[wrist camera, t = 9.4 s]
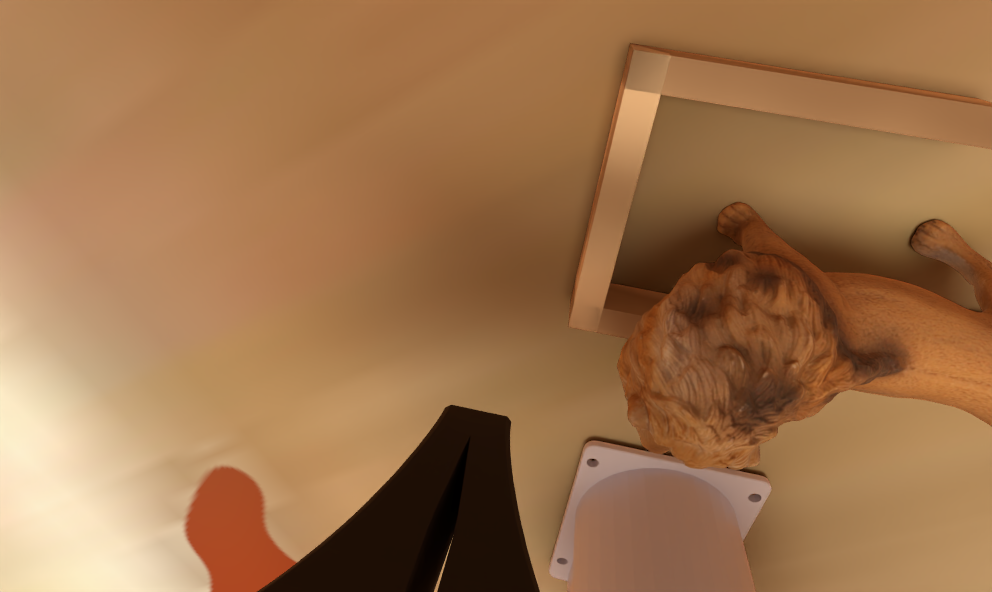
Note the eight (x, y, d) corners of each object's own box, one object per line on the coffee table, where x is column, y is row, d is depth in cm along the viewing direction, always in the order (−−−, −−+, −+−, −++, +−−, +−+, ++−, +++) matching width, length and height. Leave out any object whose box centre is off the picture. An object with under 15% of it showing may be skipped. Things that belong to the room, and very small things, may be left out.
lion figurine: (609, 328, 21) (616, 519, 14) (615, 196, 19) (627, 340, 11) (1045, 341, 19) (1354, 585, 11) (1118, 192, 16) (1585, 372, 9)
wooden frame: (838, 351, 20) (861, 385, 19) (570, 299, 21) (568, 327, 19) (978, 98, 16) (1024, 111, 14) (629, 43, 17) (633, 49, 15)
